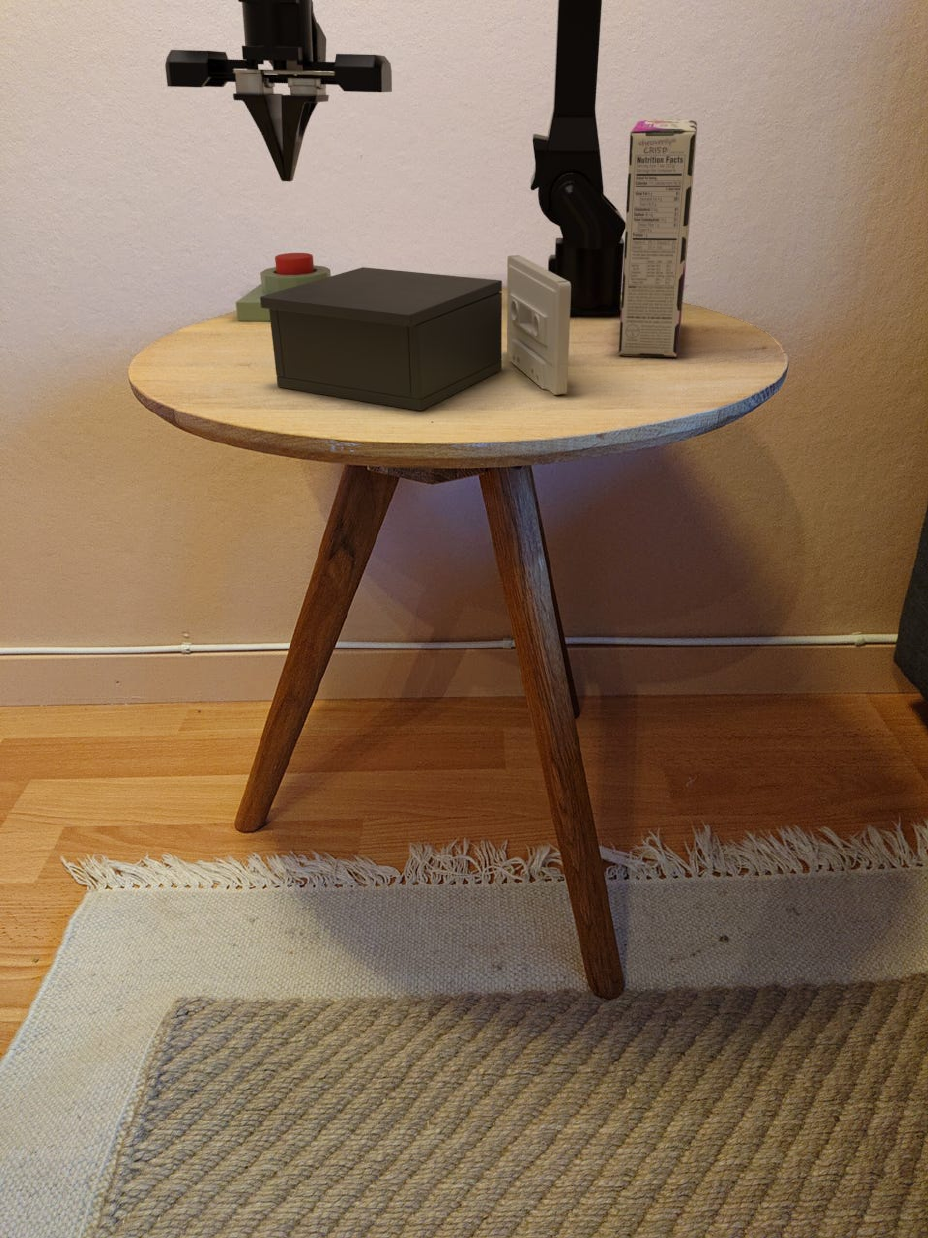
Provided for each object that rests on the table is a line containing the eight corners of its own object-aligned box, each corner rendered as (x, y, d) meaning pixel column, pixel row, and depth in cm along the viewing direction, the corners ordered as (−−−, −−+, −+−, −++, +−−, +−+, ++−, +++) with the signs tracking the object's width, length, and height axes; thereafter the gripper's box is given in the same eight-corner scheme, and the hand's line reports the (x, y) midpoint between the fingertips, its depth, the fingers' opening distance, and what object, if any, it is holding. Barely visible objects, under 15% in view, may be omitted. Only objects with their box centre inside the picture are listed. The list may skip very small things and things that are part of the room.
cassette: (574, 394, 69) (579, 282, 65) (549, 397, 68) (552, 284, 64) (522, 353, 79) (523, 253, 75) (500, 355, 78) (500, 255, 74)
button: (282, 271, 95) (280, 252, 94) (318, 271, 95) (316, 252, 94) (272, 278, 92) (270, 258, 91) (309, 278, 91) (308, 258, 91)
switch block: (269, 296, 100) (264, 260, 98) (354, 296, 99) (352, 260, 97) (237, 320, 90) (232, 281, 89) (332, 321, 90) (329, 281, 88)
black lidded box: (421, 411, 66) (417, 324, 63) (277, 386, 71) (268, 306, 68) (501, 370, 74) (502, 291, 72) (367, 350, 80) (363, 277, 77)
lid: (411, 327, 62) (410, 314, 62) (260, 308, 68) (259, 296, 67) (502, 291, 72) (502, 280, 71) (363, 277, 77) (362, 266, 77)
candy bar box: (622, 324, 87) (636, 118, 79) (679, 326, 86) (699, 118, 78) (614, 356, 77) (628, 126, 69) (677, 359, 76) (700, 126, 68)
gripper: (401, -14, 87) (402, 176, 94) (198, -18, 88) (216, 170, 96) (378, -26, 77) (382, 187, 85) (152, -30, 79) (175, 180, 86)
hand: (287, 180), depth 88 cm, fingers closed
